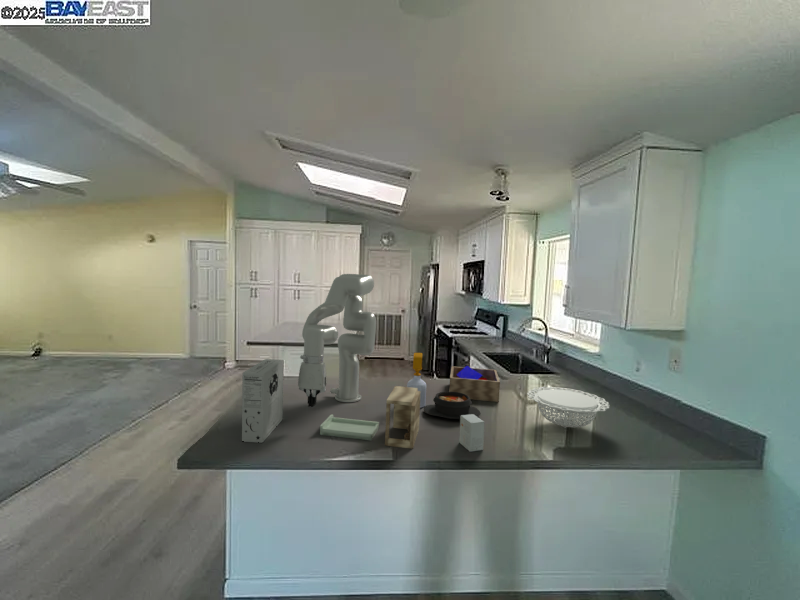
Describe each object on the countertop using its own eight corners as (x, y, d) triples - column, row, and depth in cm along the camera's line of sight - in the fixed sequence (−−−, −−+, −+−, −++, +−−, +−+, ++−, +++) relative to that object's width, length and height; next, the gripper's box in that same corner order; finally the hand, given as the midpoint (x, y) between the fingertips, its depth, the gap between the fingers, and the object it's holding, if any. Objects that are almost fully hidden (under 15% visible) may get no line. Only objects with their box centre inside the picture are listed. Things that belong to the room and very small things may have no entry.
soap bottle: (425, 402, 188) (428, 352, 186) (425, 409, 179) (427, 356, 177) (407, 401, 189) (409, 350, 187) (405, 407, 180) (407, 354, 178)
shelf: (384, 445, 141) (386, 399, 139) (393, 426, 158) (395, 385, 156) (413, 448, 139) (415, 402, 138) (418, 429, 156) (420, 388, 155)
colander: (574, 412, 183) (576, 385, 182) (626, 441, 152) (629, 409, 151) (511, 415, 176) (512, 387, 175) (552, 446, 145) (555, 413, 144)
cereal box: (264, 418, 160) (265, 358, 158) (282, 419, 160) (283, 359, 158) (241, 442, 139) (242, 372, 137) (262, 443, 139) (263, 373, 137)
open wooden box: (449, 397, 197) (450, 377, 196) (450, 383, 221) (451, 366, 220) (498, 401, 193) (499, 382, 193) (495, 387, 217) (496, 369, 217)
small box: (483, 450, 140) (485, 421, 139) (469, 452, 138) (471, 423, 137) (472, 440, 147) (473, 413, 147) (458, 442, 145) (460, 414, 145)
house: (475, 385, 218) (477, 365, 217) (492, 397, 199) (493, 375, 198) (455, 386, 216) (456, 365, 215) (470, 398, 196) (471, 375, 195)
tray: (319, 434, 147) (320, 425, 147) (330, 422, 159) (331, 414, 159) (371, 440, 144) (372, 431, 144) (378, 427, 156) (379, 419, 156)
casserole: (475, 408, 183) (476, 390, 182) (484, 424, 165) (485, 404, 164) (421, 406, 182) (422, 389, 182) (425, 422, 164) (426, 402, 163)
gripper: (291, 359, 149) (289, 406, 150) (328, 362, 147) (326, 410, 148) (299, 356, 157) (297, 401, 158) (335, 358, 154) (333, 404, 155)
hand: (311, 405), depth 153 cm, fingers closed
